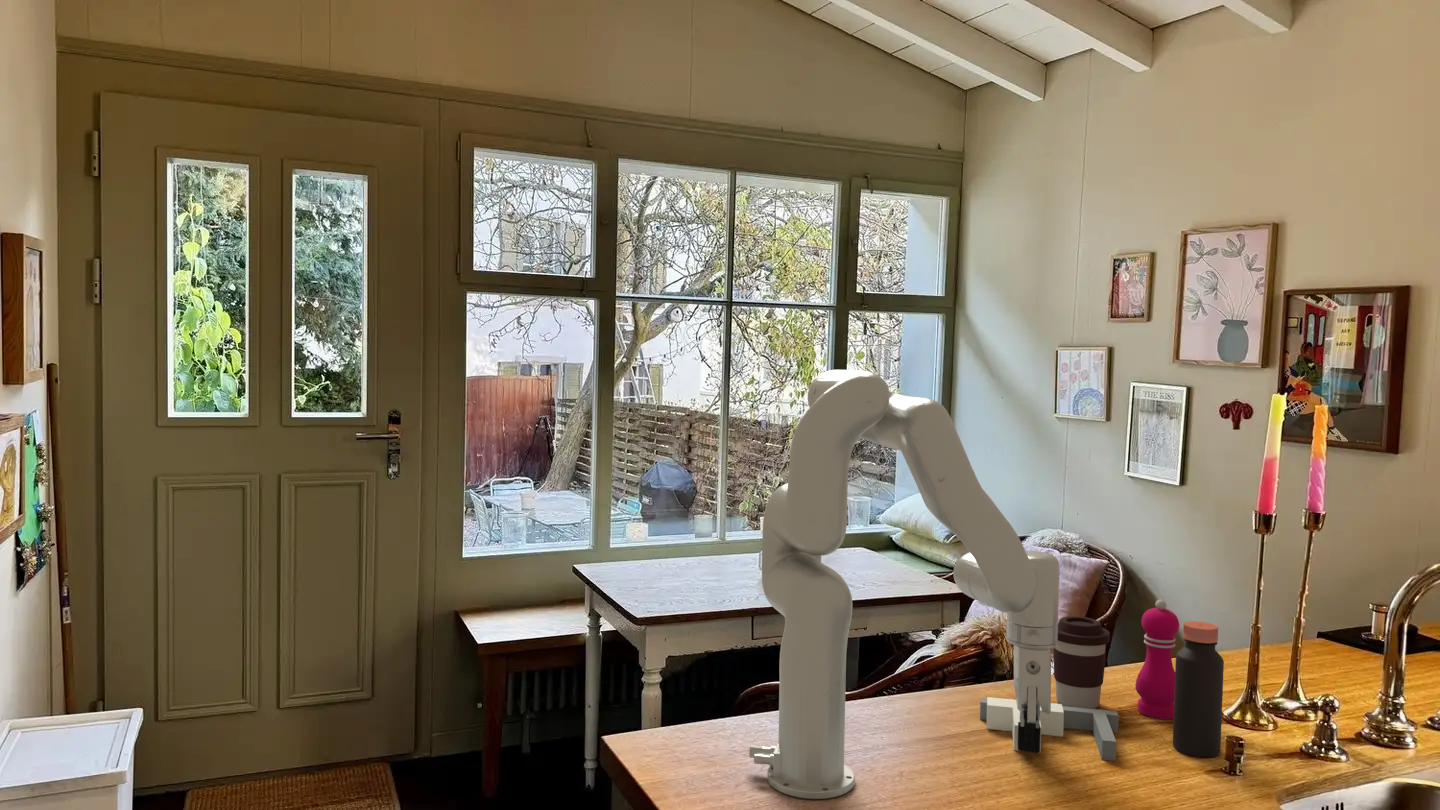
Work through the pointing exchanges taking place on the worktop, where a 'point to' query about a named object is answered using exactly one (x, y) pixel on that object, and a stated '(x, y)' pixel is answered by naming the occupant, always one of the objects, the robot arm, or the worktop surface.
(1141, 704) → the pepper mill
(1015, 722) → the t block
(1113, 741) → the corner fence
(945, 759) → the worktop surface
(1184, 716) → the bottle
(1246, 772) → the worktop surface
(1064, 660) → the coffee cup
